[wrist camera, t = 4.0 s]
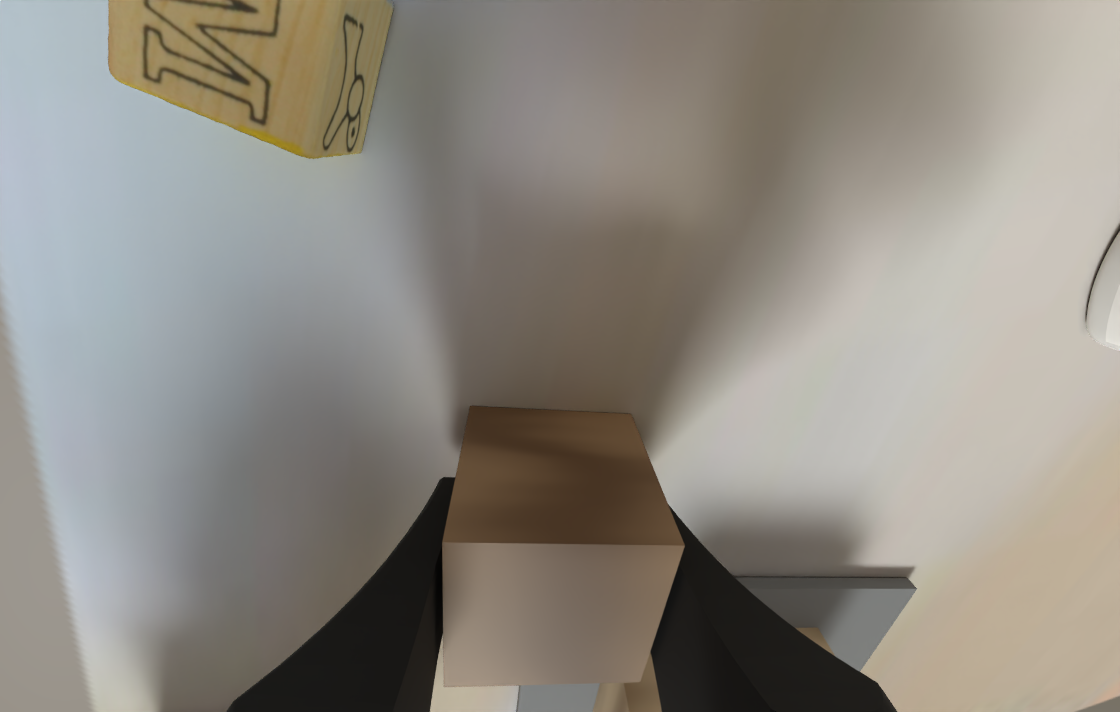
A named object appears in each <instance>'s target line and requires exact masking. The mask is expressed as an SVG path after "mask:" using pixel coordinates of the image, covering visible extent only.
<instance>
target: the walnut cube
mask: <svg viewBox="0 0 1120 712" xmlns="http://www.w3.org/2000/svg"><path fill="white" fill-rule="evenodd" d="M684 547H685V545H684V542H683V540H682V537H681V535H680V533H679V530H678V528H677V525H676V523H675V520H674V518H673V515H672V513H671V510H670V508H669V506H668V503H667V501H666V498H665V496H664V493H663V491H662V488H661V486H660V484H659V481H658V479H657V476H656V474H655V471H654V469H653V466H652V464H651V462H650V459H649V457H648V454H647V452H646V449H645V447H644V444H643V442H642V439H641V437H640V435H639V432H638V430H637V427H636V425H635V422H634V420H633V417H632V415H631V414H620V413H600V412H580V411H560V410H541V409H521V408H501V407H481V406H470V409H469V414H468V419H467V424H466V429H465V433H464V438H463V443H462V448H461V453H460V458H459V463H458V468H457V473H456V477H455V482H454V487H453V492H452V497H451V502H450V507H449V512H448V517H447V521H446V526H445V531H444V536H443V541H442V569H443V662H444V687H473V686H512V685H552V684H592V683H631V682H640V681H641V678H642V675H643V672H644V669H645V666H646V663H647V660H648V657H649V654H650V651H651V648H652V645H653V642H654V639H655V636H656V632H657V629H658V626H659V623H660V620H661V617H662V614H663V611H664V608H665V605H666V602H667V599H668V596H669V593H670V590H671V587H672V584H673V580H674V577H675V574H676V571H677V568H678V565H679V562H680V559H681V556H682V553H683V550H684Z"/></svg>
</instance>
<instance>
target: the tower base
mask: <svg viewBox="0 0 1120 712" xmlns="http://www.w3.org/2000/svg"><path fill="white" fill-rule="evenodd" d="M796 629H797V630H799V631H800V632H801V633H803V634H804V635H805V636H807V637H808V638H810V639H811V640H812V641H814V642H815V643H817V644H818V645H819V646H821V647H822V648H824V649H825V650H827V651H828V652H830V653H831V654H832V655H834V653H833V652H832V650H831V648H830V647H829V645H828V643H827V642H826V640H825V639H824V637H823V635H822V634H821V632H820V630H819V629H818V628H796ZM834 656H835V655H834ZM593 712H662V710H661V704H660V698H659V693H658V688H657V682H656V677H655V672H654V667H653V661H652V657H651V652H650V654H649V657H648V660H647V663H646V666H645V669H644V672H643V675H642V678H641V681H640V682H631V683H600V685H599V689H598V693H597V697H596V701H595V704H594V708H593Z"/></svg>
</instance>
